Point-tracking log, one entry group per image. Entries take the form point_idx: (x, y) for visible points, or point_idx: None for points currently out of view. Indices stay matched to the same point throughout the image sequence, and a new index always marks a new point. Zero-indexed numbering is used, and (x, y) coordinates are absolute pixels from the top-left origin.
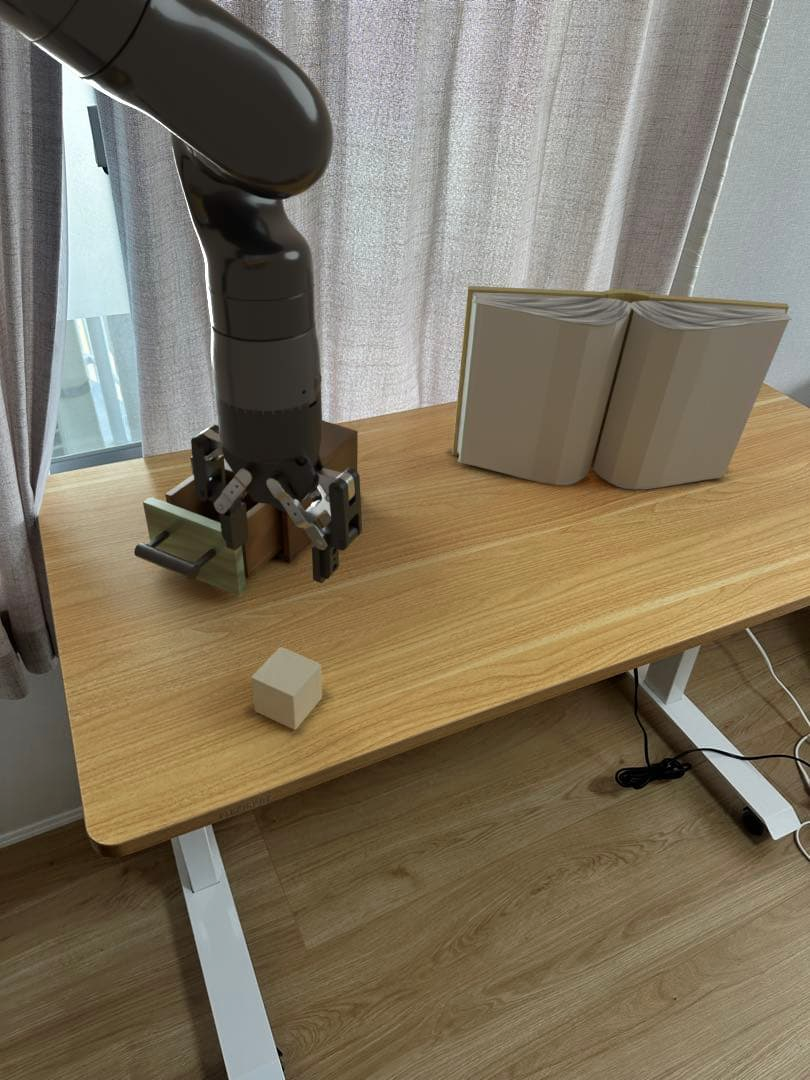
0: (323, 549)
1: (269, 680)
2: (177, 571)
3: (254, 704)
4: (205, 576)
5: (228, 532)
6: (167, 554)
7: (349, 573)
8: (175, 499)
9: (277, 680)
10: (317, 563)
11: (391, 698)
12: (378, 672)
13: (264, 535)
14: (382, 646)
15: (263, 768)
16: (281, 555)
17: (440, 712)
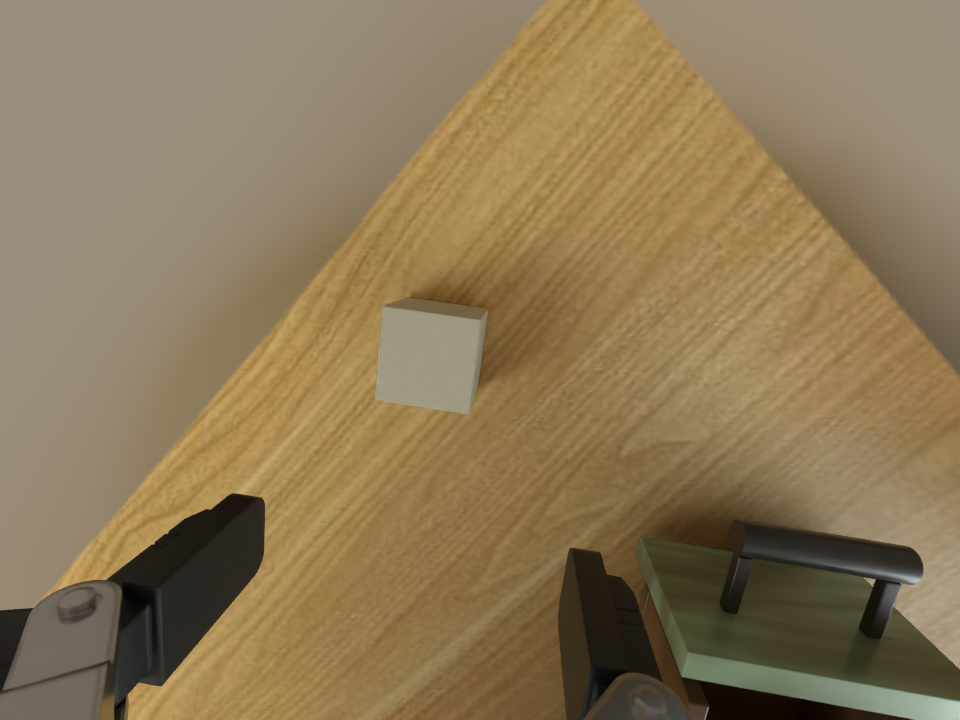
0: (85, 582)
1: (443, 325)
2: (777, 527)
3: (484, 310)
4: (727, 559)
5: (593, 597)
6: (828, 564)
7: (487, 650)
8: None
9: (428, 331)
10: (185, 537)
11: (300, 414)
12: (342, 457)
13: None
14: (361, 511)
15: (416, 207)
16: None
17: (222, 414)
